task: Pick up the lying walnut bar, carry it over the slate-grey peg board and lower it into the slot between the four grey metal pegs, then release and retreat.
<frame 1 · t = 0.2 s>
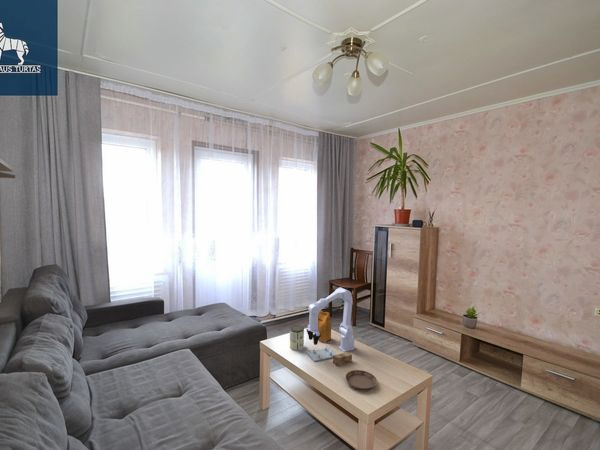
hand: (313, 342, 190), 10 cm above the table, fingers open, 7 cm apart
coffee package: (322, 338, 217), on the table
peg board: (322, 355, 192), on the table
walnut bar: (342, 362, 183), on the table
coffee can: (296, 347, 203), on the table
plant saucer: (360, 383, 162), on the table
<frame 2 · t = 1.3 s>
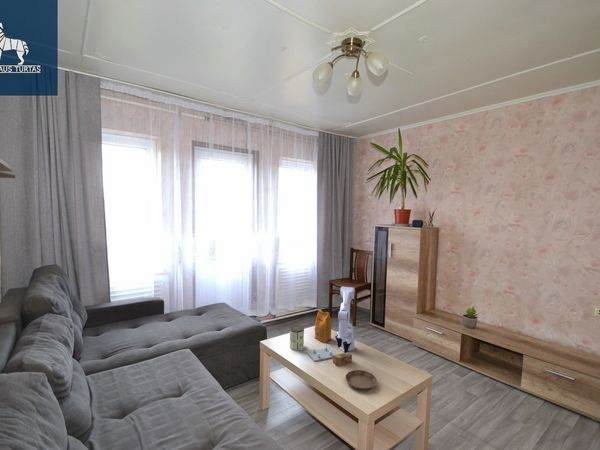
hand: (342, 349, 183), 8 cm above the table, fingers open, 7 cm apart
nothing on the table moved.
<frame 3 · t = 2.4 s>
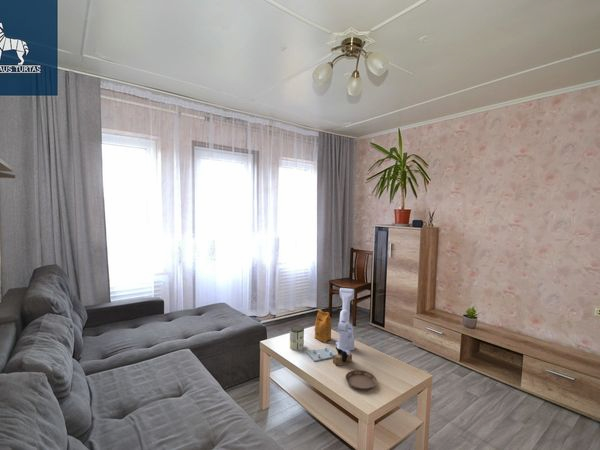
hand: (342, 360, 183), 1 cm above the table, fingers closed on walnut bar, 4 cm apart
walnut bar: (342, 362, 183), on the table, touching gripper
everything else where it was.
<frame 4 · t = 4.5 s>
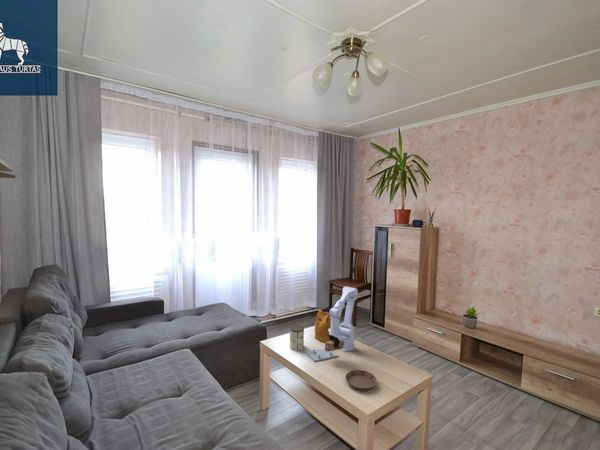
hand: (334, 346, 186), 9 cm above the table, fingers closed on walnut bar, 4 cm apart
walnut bar: (334, 348, 186), point 7 cm above the table, touching gripper
everything else where it was.
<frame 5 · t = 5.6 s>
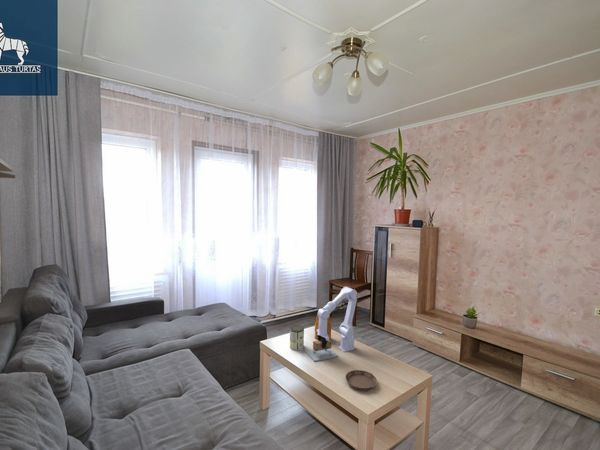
hand: (322, 346, 192), 6 cm above the table, fingers closed on walnut bar, 4 cm apart
walnut bar: (322, 348, 192), point 5 cm above the table, touching gripper
everything else where it was.
when the fingers open (4 cm above the table, at t = 6.4 s): walnut bar drops 1 cm, resting on peg board.
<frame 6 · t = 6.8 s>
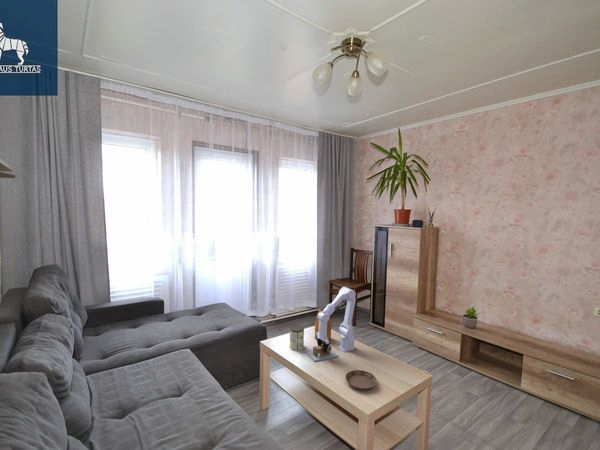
hand: (322, 349, 192), 4 cm above the table, fingers open, 7 cm apart
walnut bar: (322, 353, 192), point 1 cm above the table, touching peg board
everything else where it was.
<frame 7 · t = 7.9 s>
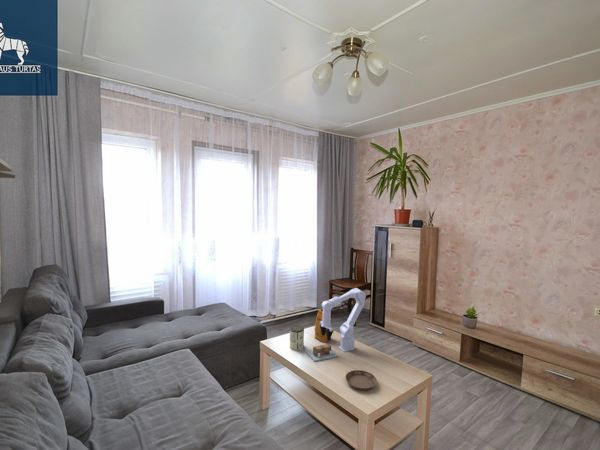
hand: (326, 337, 197), 10 cm above the table, fingers open, 7 cm apart
nothing on the table moved.
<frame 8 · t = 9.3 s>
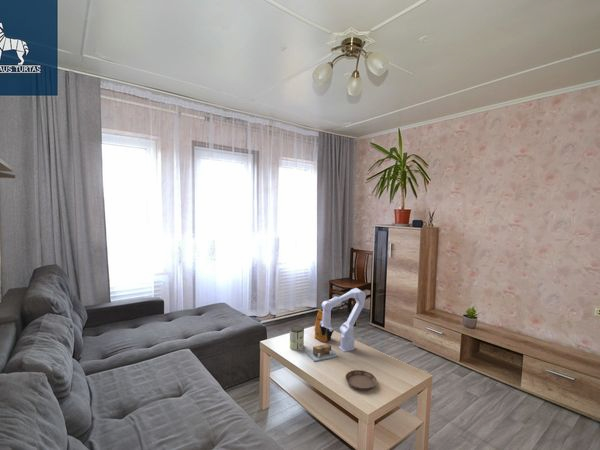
hand: (326, 337, 197), 10 cm above the table, fingers open, 7 cm apart
nothing on the table moved.
at the end: walnut bar 0.1 cm off-centre on the peg board, point 1.0 cm above the peg board's base; walnut bar tilted 0°; the gripper is holding nothing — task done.
